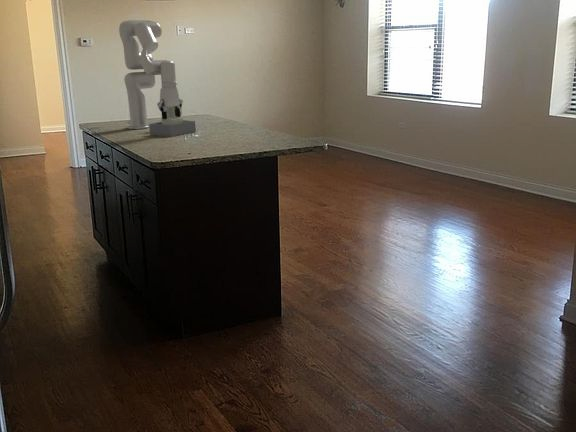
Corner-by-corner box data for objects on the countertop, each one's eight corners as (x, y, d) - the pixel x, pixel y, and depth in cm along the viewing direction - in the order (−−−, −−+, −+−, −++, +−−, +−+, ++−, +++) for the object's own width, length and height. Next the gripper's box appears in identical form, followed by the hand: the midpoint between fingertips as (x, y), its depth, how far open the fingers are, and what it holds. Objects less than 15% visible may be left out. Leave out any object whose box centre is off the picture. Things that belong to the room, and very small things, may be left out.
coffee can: (168, 128, 363) (165, 103, 360) (185, 127, 362) (183, 102, 359) (162, 130, 354) (160, 105, 350) (180, 130, 352) (178, 104, 349)
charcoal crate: (150, 135, 337) (149, 123, 335) (175, 130, 351) (174, 119, 349) (171, 136, 327) (170, 125, 326) (195, 132, 341) (195, 120, 340)
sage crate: (162, 132, 339) (161, 119, 337) (172, 130, 344) (171, 117, 342) (174, 133, 333) (172, 119, 332) (183, 131, 339) (182, 118, 337)
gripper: (176, 83, 341) (178, 115, 346) (151, 86, 328) (154, 119, 333) (185, 84, 337) (188, 116, 342) (161, 86, 324) (163, 120, 329)
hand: (171, 117), depth 337 cm, fingers open, 9 cm apart
